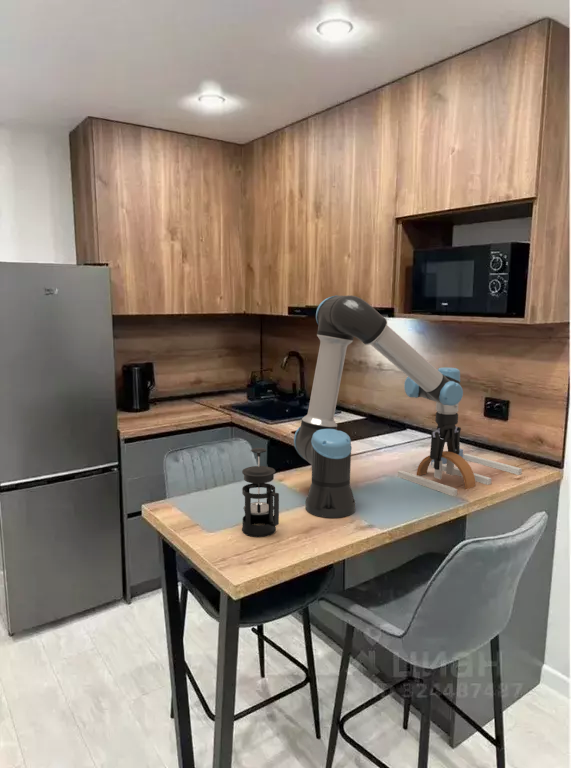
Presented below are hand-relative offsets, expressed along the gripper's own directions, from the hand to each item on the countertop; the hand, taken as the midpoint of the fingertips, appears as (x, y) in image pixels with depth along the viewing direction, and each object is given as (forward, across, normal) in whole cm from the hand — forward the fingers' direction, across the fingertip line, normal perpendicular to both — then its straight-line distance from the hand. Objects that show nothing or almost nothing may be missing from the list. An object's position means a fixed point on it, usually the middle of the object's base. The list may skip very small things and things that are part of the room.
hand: (443, 476), depth 187 cm
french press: (+1, -76, +2) cm, 76 cm away
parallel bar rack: (+1, +9, 0) cm, 10 cm away
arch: (+2, 0, -1) cm, 2 cm away
